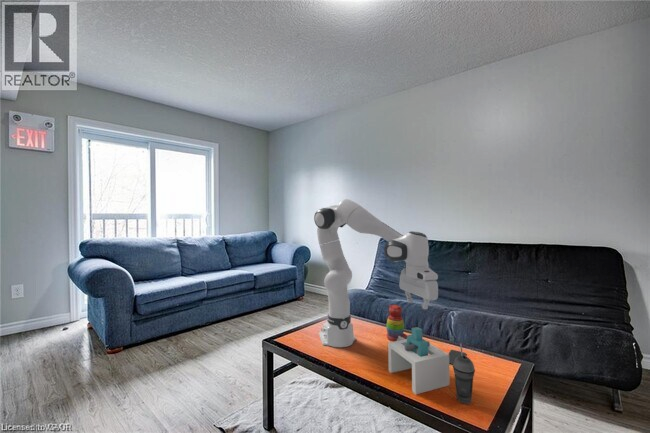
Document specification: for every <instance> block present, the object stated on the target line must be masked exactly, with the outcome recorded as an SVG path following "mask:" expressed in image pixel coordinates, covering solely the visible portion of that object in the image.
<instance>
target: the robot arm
mask: <svg viewBox="0 0 650 433" xmlns="http://www.w3.org/2000/svg"><path fill="white" fill-rule="evenodd" d="M313 217H314V218H313V219H314V220H313V221H314V224H315V225H316V235H317V240H318V245H319V249H320V253H321V256H322V259H323V261H324V262H325V264H326V266H327V267H328V269H329V270H328V271H329V272H328V273H326V274H325V277H324V279H323V283H324V284H323V285H324V287H325V288H326V293H327V299H328V313H327V320H326V321H325V322H324V323H323V324H322V327H321V328H320V329H321V330H320V331H319V332H318V336H319V339H320V341H321V344H322V346H328V347H333V348H347V347H349V346H352V345H353V343H354V342H355V341H356V340H357V337H356V336H355V335H354V326H353V323H352V317H351V314H350V313H351V310H350V308H351V304H350V303H351V302H350V301H351V300H350V299H349V295H348V294H349V293H348V284H350V283H351V281H352V278H353V271H352V270H351V268H350V266H349V263H348V261H347V259H346V257H345V254H344V251H343V249H342V244H341V241H340V237H339V233H338V229H339V228H343V227H345V226H346V225H347V226H348V227H349V228H351V229H352V230H353V231H355V232H357V233H360V234H367V235H368V234H369V235H375V236H378V237H380V238H381V239H383V240H385V241H386V243H385V245H384V249H383V251H384V255H385V257H386V259H388V260H389V261H390V262H395V263H397V262H402V261H403V262H404V263H405V267H404V268H402V269H401V272H400V276H399V284H398V285H399V286H398V287H399V288H400V290H402V291H404V294H405V296H406V302H407V303H409V304H410V303H413V300H414V299H413V297H412V295H414V296H418V297H419V298H422V300H423V303H422V304H421V309H422V310H424V311H425V310H429V309H428V308H429V304H430V302H431V301H436V300H437V299H438V298H439V284H438V282H437V280H438V278H439V275H438V273H436V272H435V271H433V270H432V268H430V267H429V266H430V265H429V261H428V259H429V252H430V247H429V240H428V237H427V235H426V234H425V233H422V232H420V231H412V230H411V231H408V232H407V233H406V234H401V233H400V232H399V231H397V230H395V229H394V228H392V227H390V226H389V225H387V224H386V223H384V222H383V221H382V220H380V219H379V218H377V217H376V216H375V215H374V214H372V213H371V212H369V211H368V210H367V209H366V208H364V207H363V206H362V205H360V204H358V203H357V202H355V201H353V200H351V199H348V198H345V199H342V200H340V202H339V203H338V204H337V205H330V206H328V207H322V208H319V209H318V210H316V211H315V213H314V216H313Z"/></svg>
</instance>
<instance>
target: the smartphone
mask: <svg viewBox="0 0 650 433" xmlns="http://www.w3.org/2000/svg"><path fill="white" fill-rule="evenodd" d="M462 353H463V356H466V357H467V353H466V352H465V351H462ZM448 354H449V365H451V366H453V362H454V360H455V359H456V358H457V357H458V356H461V350H460V351H459V350H455V349H450V351H449V352H448Z"/></svg>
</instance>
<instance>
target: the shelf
mask: <svg viewBox="0 0 650 433" xmlns="http://www.w3.org/2000/svg"><path fill="white" fill-rule="evenodd" d="M426 341H427V342H428V356H423V357H420V356H419V355H418V347H417V346H416V345H414V344H411V345H407V339H405V340H400V341H395V342H394V341H391V342H390V341H389V342H388V343H387V345H388V347H387V348H388V349H387V351H388V352H387V354H388V372H389V373H390V374H393V373H397V372H398V373H399V372H402V371H406V370H410V369H411V392H412V393H413V394H414V395H419V394H423V393H426V392H430V391H433V390H437V389H440V388H445V387H448V386H450V364H449V353H447V352H446V351H444V350H443V349H440V347H437V346H435V345H433V344H432V343H431V342H430V341H428V340H426ZM414 349H417V354H416V353H414V352H413V351H411V350H414ZM407 361H409V362H410V363H409V362H407Z"/></svg>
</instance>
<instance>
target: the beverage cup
mask: <svg viewBox="0 0 650 433" xmlns="http://www.w3.org/2000/svg"><path fill="white" fill-rule="evenodd" d="M459 347H460V352H461V356H458V357H457V358H456V359H455V360H454V362H453V365H452V368H453V373H454V383H455V392H456V400H457V401H458V403H461V404H463V405H464V404H465V405H469V404H471V402H472V396H473V388H474V387H473V384H474V376H475V372H476V368H475V364H474V362H473V361H472V360H471V359H470V358H469V357H468V356H467V355H466V356H463V353H462V352H463V345H462V342H460V343H459Z"/></svg>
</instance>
